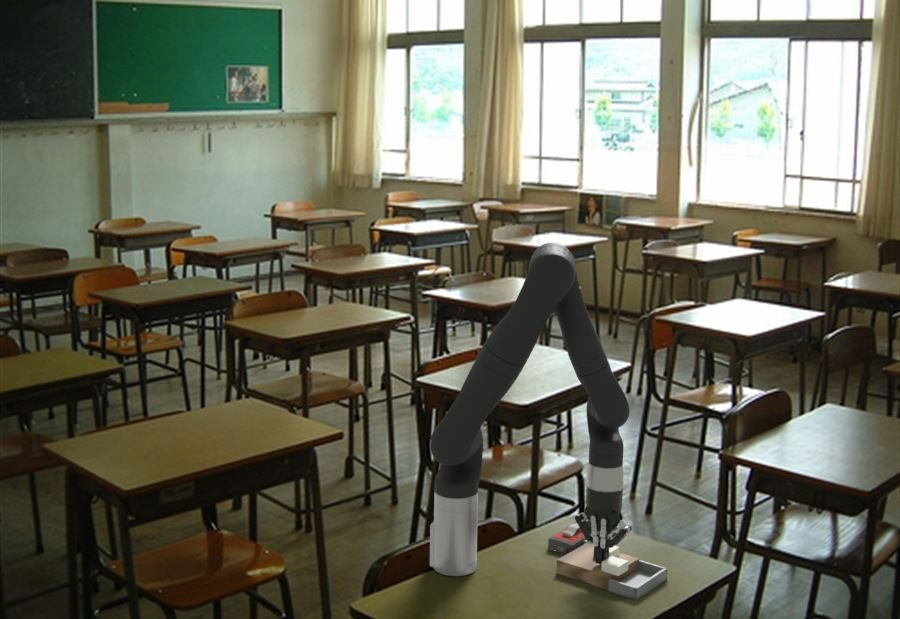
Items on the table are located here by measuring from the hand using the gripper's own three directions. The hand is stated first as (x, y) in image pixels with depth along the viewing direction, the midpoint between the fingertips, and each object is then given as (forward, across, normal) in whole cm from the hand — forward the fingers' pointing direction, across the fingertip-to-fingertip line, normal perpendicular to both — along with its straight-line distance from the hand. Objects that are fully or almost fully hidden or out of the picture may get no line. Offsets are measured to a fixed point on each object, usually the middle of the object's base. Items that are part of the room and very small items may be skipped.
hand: (601, 562), depth 238 cm
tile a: (+1, +4, 0) cm, 4 cm away
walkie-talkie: (+4, -14, +15) cm, 21 cm away
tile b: (+1, -2, +5) cm, 5 cm away
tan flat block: (+4, -2, +2) cm, 5 cm away
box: (+4, +8, +2) cm, 9 cm away
